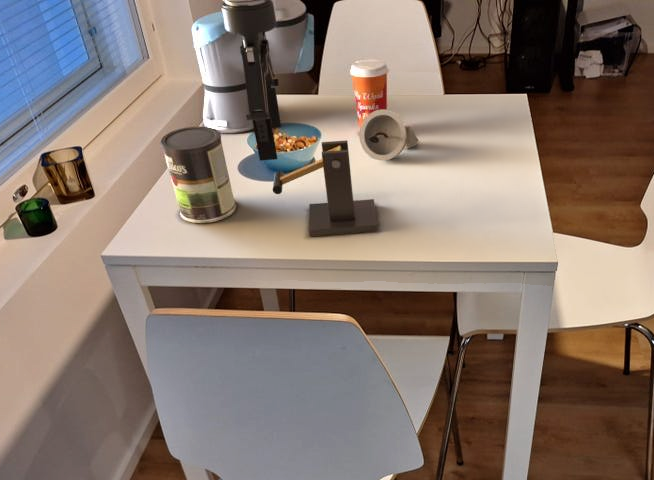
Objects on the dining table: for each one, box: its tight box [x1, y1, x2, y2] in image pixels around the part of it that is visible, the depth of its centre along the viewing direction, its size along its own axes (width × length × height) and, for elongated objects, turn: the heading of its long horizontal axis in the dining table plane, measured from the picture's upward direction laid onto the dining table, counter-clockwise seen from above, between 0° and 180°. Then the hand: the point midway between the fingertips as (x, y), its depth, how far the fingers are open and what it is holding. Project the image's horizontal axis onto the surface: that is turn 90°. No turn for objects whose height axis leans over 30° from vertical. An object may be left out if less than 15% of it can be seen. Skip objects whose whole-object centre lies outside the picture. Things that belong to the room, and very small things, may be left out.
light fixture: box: [359, 109, 419, 161], centre depth 140 cm, size 11×16×10 cm, turn 164°
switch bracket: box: [308, 139, 378, 238], centre depth 117 cm, size 12×10×14 cm
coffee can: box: [159, 126, 237, 224], centre depth 121 cm, size 10×10×14 cm
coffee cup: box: [349, 58, 390, 129], centre depth 147 cm, size 8×8×15 cm
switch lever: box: [272, 146, 342, 195], centre depth 114 cm, size 13×6×2 cm, turn 96°
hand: (271, 142), depth 111 cm, fingers open, 13 cm apart
